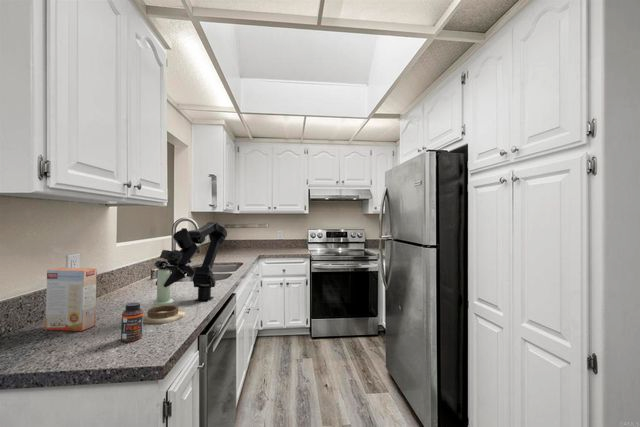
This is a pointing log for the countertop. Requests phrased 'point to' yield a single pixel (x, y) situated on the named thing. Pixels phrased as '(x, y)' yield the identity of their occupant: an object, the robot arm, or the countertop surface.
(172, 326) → the countertop surface
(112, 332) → the countertop surface
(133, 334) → the supplement bottle
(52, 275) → the cracker box
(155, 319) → the locating collar
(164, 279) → the flanged peg
